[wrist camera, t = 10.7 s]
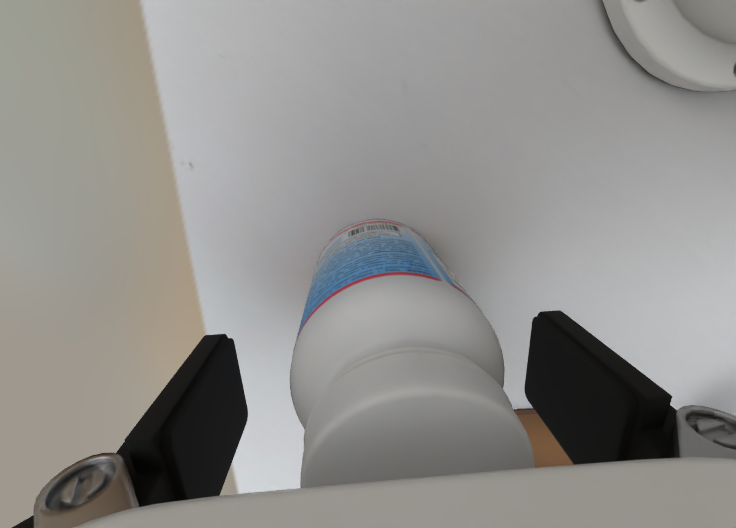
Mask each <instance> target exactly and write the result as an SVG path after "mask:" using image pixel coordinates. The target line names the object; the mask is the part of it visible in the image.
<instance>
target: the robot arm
mask: <svg viewBox="0 0 736 528" xmlns="http://www.w3.org/2000/svg"><path fill="white" fill-rule="evenodd" d="M603 4H604V6H605V9H606V12H607V14H608V17H609V19H610V22H611V24H612V27H613V30H614V32H615V33H616V35H617V36H618V38H619V39H620V41H621V43H622V44H623V46H624V47H625V49H626V50H627V52H628V53H629V55H630V56H631V57H632V58H633V59H635V60H636V61H637V62H638V63H639V64H640V65H641V66H642V67H643V68H644V69H645V70H646V71H648V72H649V73H650V74H652V75H654V76H656V77H657V78H659V79H661V80H663V81H665V82H667V83H669V84H671V85H673V86H677V87H681V88H686V89H690V90H694V91H728V90H735V89H736V0H603ZM525 394H526V397H527V399H528V401H529V402H530V404H531V405H532V407H533V408H534V409H535V411H536V412H537V414H538V415H539V416H540V418H541V419H542V421H543V422H544V423H545V425H546V426H547V428H548V429H549V430H550V432H551V433H552V435H553V436H554V437H555V439H556V440H557V442H558V443H559V444H560V446H561V447H562V449H563V450H564V452H565V453H566V454H567V456H568V457H569V459H570V460H571V461H572V463H573V464H574V465H565V466H552V467H540V468H527V469H515V470H502V471H490V472H478V473H466V474H455V475H443V476H431V477H420V478H408V479H397V480H385V481H374V482H363V483H352V484H341V485H330V486H320V487H309V488H298V489H287V490H276V491H266V492H255V493H244V494H235V495H224V496H219V495H220V492H221V490H222V487H223V484H224V482H225V479H226V476H227V473H228V471H229V468H230V466H231V463H232V460H233V457H234V455H235V452H236V449H237V447H238V444H239V441H240V439H241V436H242V433H243V431H244V428H245V425H246V422H247V417H248V410H247V404H246V399H245V394H244V389H243V384H242V379H241V374H240V369H239V364H238V359H237V354H236V349H235V344H234V341H233V339H232V338H228V337H227V335H225V334H218V335H205V336H204V337H203V338H202V340H201V341H200V342H199V344H198V345H197V346H196V347H195V349H194V350H193V352H192V353H191V354H190V355H189V357H188V358H187V359H186V361H185V362H184V363H183V364H182V366H181V367H180V368H179V370H178V371H177V372H176V374H175V375H174V376H173V378H172V379H171V380H170V381H169V383H168V384H167V385H166V387H165V388H164V389H163V391H162V392H161V393H160V395H159V396H158V397H157V398H156V400H155V401H154V402H153V404H152V405H151V406H150V408H149V409H148V410H147V412H146V413H145V414H144V415H143V417H142V418H141V419H140V421H139V422H138V423H137V424H136V426H135V427H134V428H133V430H132V431H131V432H130V434H129V435H128V436H127V438H126V439H125V442H124V443H123V445H122V446H121V447H120V448H119V450H118V451H117V453H116V454H115V453H101V454H97V455H92V456H90V457H87V458H85V459H83V460H80V461H78V462H76V463H74V464H72V465H71V466H69V467H67V468H66V469H64V470H63V471H61V472H60V473H59V474H58V475H56V476H55V477H54V478H53V479H51V480H50V482H49V483H48V484H47V485H46V486H45V487H44V488H43V489H42V490H41V492H40V494H39V495H38V496H37V498H36V501H35V505H34V515H33V516H31V517H30V518H28V519H26V520H25V521H23V522H21V523H19V524H18V525H16V526H14V527H12V528H736V417H735V416H733V415H731V414H729V413H726V412H723V411H720V410H717V409H714V408H709V407H705V406H696V405H689V406H683V407H681V408H680V409H678V410H675V409H674V408H673V407H672V406H670V402H671V399H672V396H671V395H670V394H669V393H667V392H666V391H665V390H663V389H662V388H661V387H659V386H658V385H657V384H656V383H654V382H653V381H652V380H650V379H649V378H648V377H646V376H645V375H644V374H643V373H641V372H640V371H639V370H637V369H636V368H635V367H633V366H632V365H631V364H629V363H628V362H627V361H626V360H624V359H623V358H622V357H620V356H619V355H618V354H616V353H615V352H614V351H613V350H611V349H610V348H609V347H607V346H606V345H605V344H603V343H602V342H601V341H600V340H598V339H597V338H596V337H594V336H593V335H592V334H590V333H589V332H588V331H586V330H585V329H584V328H583V327H581V326H580V325H579V324H577V323H576V322H575V321H573V320H572V319H571V318H570V317H568V316H567V315H566V314H564V313H563V312H561V311H545V312H540V313H539V314H538V316H537V317H534V318H533V321H532V329H531V338H530V347H529V355H528V364H527V372H526V381H525Z"/></svg>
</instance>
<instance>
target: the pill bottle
mask: <svg viewBox="0 0 736 528" xmlns="http://www.w3.org/2000/svg"><path fill="white" fill-rule="evenodd" d="M503 384H504V361H503V355H502V350H501V347H500V344H499V340H498V338H497V336H496V333H495V331H494V330H493V328H492V326H491V324H490V323H489V321H488V320H487V318H486V317H485V316H484V314H483V313H482V311H481V310H480V309H479V307H478V306H477V305H476V304H475V302H474V301H473V300H472V299H471V297H470V296H469V295H468V294H467V292H466V291H465V290H464V289H463V287H462V286H461V285H460V284H459V282H458V281H457V280H456V278H455V277H454V276H453V275H452V273H451V272H450V271H449V270H448V268H447V267H446V266H445V265H444V263H443V262H442V261H441V260H440V258H439V257H438V256H437V255H436V253H435V252H434V251H433V250H432V248H431V247H430V246H429V245H428V243H427V242H426V241H425V240H424V239H423V238H422V237H421V236H420V235H419V234H418V233H416V232H415V231H414V230H412V229H411V228H409V227H407V226H405V225H403V224H400V223H397V222H394V221H389V220H378V219H376V220H367V221H362V222H358V223H355V224H353V225H350V226H348V227H346V228H345V229H343V230H341V231H340V232H339V233H337V234H336V235H335V236H334V237H333V238H332V239H331V240H330V241H329V242H328V243H327V245H326V246H325V248H324V249H323V251H322V253H321V255H320V257H319V260H318V262H317V265H316V269H315V272H314V275H313V279H312V283H311V286H310V290H309V294H308V297H307V301H306V305H305V309H304V313H303V317H302V320H301V325H300V328H299V332H298V336H297V340H296V343H295V347H294V351H293V357H292V363H291V369H290V389H291V396H292V401H293V405H294V408H295V410H296V413H297V416H298V418H299V420H300V422H301V424H302V425H303V427H304V429H305V434H304V453H303V460H302V468H301V484H300V485H301V488H309V487H320V486H330V485H341V484H352V483H363V482H374V481H385V480H397V479H408V478H420V477H431V476H443V475H455V474H466V473H478V472H490V471H502V470H515V469H527V468H535V462H534V453H533V448H532V445H531V441H530V439H529V437H528V434H527V432H526V430H525V428H524V427H523V425H522V423H521V421H520V420H519V418H518V416H517V415H516V413H515V411H514V410H513V408H512V405H511V403H510V401H509V399H508V397H507V395H506V393H505V391H504V390H503Z"/></svg>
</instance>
